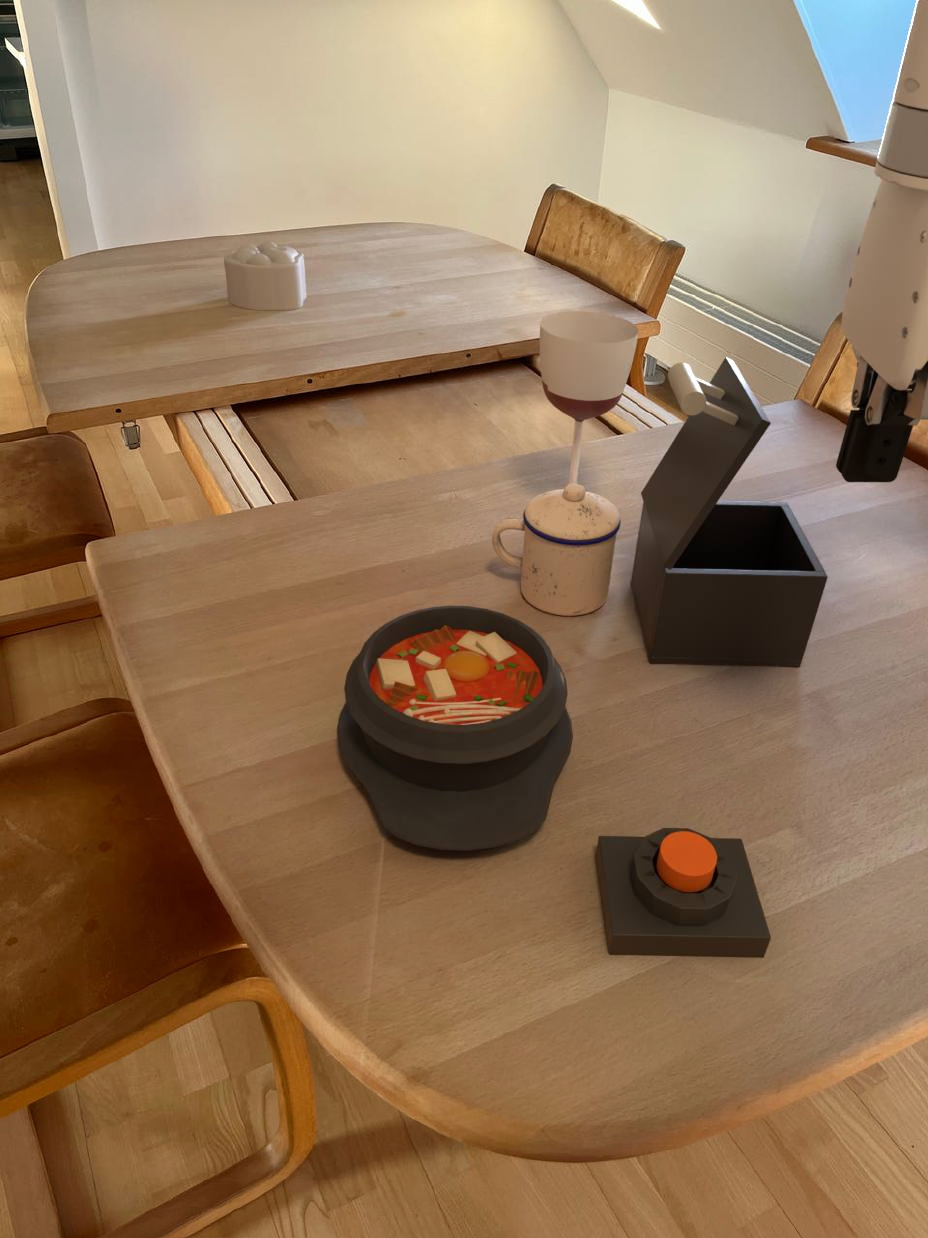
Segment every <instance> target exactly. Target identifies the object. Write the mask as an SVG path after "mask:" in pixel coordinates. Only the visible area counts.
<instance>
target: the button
mask: <svg viewBox="0 0 928 1238" xmlns="http://www.w3.org/2000/svg"><path fill="white" fill-rule="evenodd" d="M716 863H717V854H716V851H715V849H714V847H713V846H712V844H711V843H710V842H709V841H708V840H706V839H705V838H704V837H702V836H700V835H698V834H695V833H692V832H687V831H679V832H674V833H671V834H669V835H668V836H667V837H665V838H664V839H663V841H662V843H661V846H660V851H659V855H658V859H657V871H658V874H659V876H660V877H661V879H662V880H663V881H664V882H665V883H666V884H667V885H668V886H670V887H672V888H673V889H676V890H678V891H682V892H688V893H692V892H698V891H701V890H703V889H705V888H706V887H707V886H708V885H709V884H710V882H711V880H712V877H713V873H714V870H715V866H716Z"/></svg>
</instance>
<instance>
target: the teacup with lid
mask: <svg viewBox="0 0 928 1238" xmlns="http://www.w3.org/2000/svg"><path fill="white" fill-rule="evenodd" d="M522 515H523V516H522V519H518V518H508V519H503V520H501V521H500V522H499V523H497V524H496V525H495V527H494V529H493V531H492V535H491V543H492V548H493V550H494V552H495V554H496V555H497V557H498V558H499V559H500V560H501V561H502V562H503V563H505V564H507V565H509V566H512V567H514V568H515V567H516V568H520V569H521V578H520V590H521V594H522V596H523V598H524V599H525V600H526V601H527V602H528V603H529V604H530V605H531V606H533V607H534V608H535V609H538V610H540V611H542V612H545V613H547V614H551V615H555V616H556V615H557V616H564V617H573V616H576V617H577V616H582V615H586V614H589V613H592V612H594V611H596V610H598V609H600V608H601V607H602V606H603V605H604V604H605V602H606V601H607V600H608V596H609V591H610V582H611V576H612V569H613V561H614V555H615V547H616V540H617V534H618V532H619V530H620V527H621V517H620V513H619V511H618V509H617V507H616V506H615V505H614V504H613V503H612V502H611V501H610V500H608V499H607V498H606V497H603V496H601V495H599V494H597V493H595V492H594V493H593V492H590V491H587V490H586V489H585V487H584V486H583V485H581V484H579V483H577V484H569V483H568V484H567V485H566V486H564V488H562V489H561V488H559V489H553V490H549V491H545V492H542V493H540V494H538V495H535V496H534V497H533V498H531V499H530V500H529V502H528V503H527V504H526V506H525V508H524V510H523V513H522ZM508 530H516V531H522V532H524V534H523V535H524V536H523V548H522V549H523V551H522V556H517V555H514V554H512V553H510V552H509V551H507V549H506V548H505V547H504V544H503V543H502V540H501V533H502V532H504V531H508Z"/></svg>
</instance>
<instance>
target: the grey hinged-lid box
mask: <svg viewBox="0 0 928 1238" xmlns="http://www.w3.org/2000/svg"><path fill="white" fill-rule="evenodd" d="M788 503H789V502H787V501H786V502H785V501H784V502H783V501H782V502H781V501H745V500H744V501H741V500H738V501H737V500H718V502H717V503H716V505H715V506H714V507H713V509H712V510H711V512H710V513H709V515H708V516H707V518H706V519H705V521H704V522H703V524H702V525H701V526H700V528H699V529H698V531H697V532H696V534H695V535H694V537H693V538H692V540H691V541H690V543H689V544H688V545H687V547H686V548H685V550H684V551H683V553H682V554H681V556H680V557H679V559H678V560H677V562H676V563H675V564H674V566H673V567H672V569H671V570H670V569H668V568H665V567H663V565H662V562H661V558H660V555H659V552H658V548H657V545H656V542H655V538H654V535H653V532H652V528H651V525H650V522H649V518H648V515H647V512H646V508H645V505H644V502H643V503H642V507H641V515H640V519H639V526H638V533H637V539H636V545H635V553H634V559H633V564H632V565H633V566H632V572H631V577H630V578H631V579H630V588H631V592H632V593H631V594H632V596H633V601H634V604H635V608H636V609H635V610H636V614H637V617H638V621H639V622H638V623H639V626H640V629H641V630H640V631H641V635H642V638H643V642H644V647H645V650H646V653H647V658H648V662H649V664H651V665H690V666H691V665H693V666H694V665H697V666H699V665H700V666H739V667H740V666H741V667H742V666H743V667H783V668H784V667H786V668H787V667H789V668H791V667H792V668H800V667H801V666H802V664H803V663H802V662H803V659H804V656H805V653H806V649H807V646H808V642H809V641H810V636H811V634H812V631H813V627H814V624H815V620H816V616H817V614H818V610H819V607H820V604H821V601H822V597H823V594H824V591H825V588H826V584H827V581H828V577H829V576H828V575H827V572H826V571H825V569H824V567H823V565H822V563H821V561H820V560H819V558H818V555H817V554H816V552H815V550H814V549H813V547H812V545H811V543H810V541H809V539H808V537H807V535H806V533H805V532H804V530H803V528H802V527H801V524H800V523H799V521H798V519H797V518H796V516H795V514H794V512H793V510H792V508H791V507H790V505H789V504H788Z"/></svg>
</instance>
